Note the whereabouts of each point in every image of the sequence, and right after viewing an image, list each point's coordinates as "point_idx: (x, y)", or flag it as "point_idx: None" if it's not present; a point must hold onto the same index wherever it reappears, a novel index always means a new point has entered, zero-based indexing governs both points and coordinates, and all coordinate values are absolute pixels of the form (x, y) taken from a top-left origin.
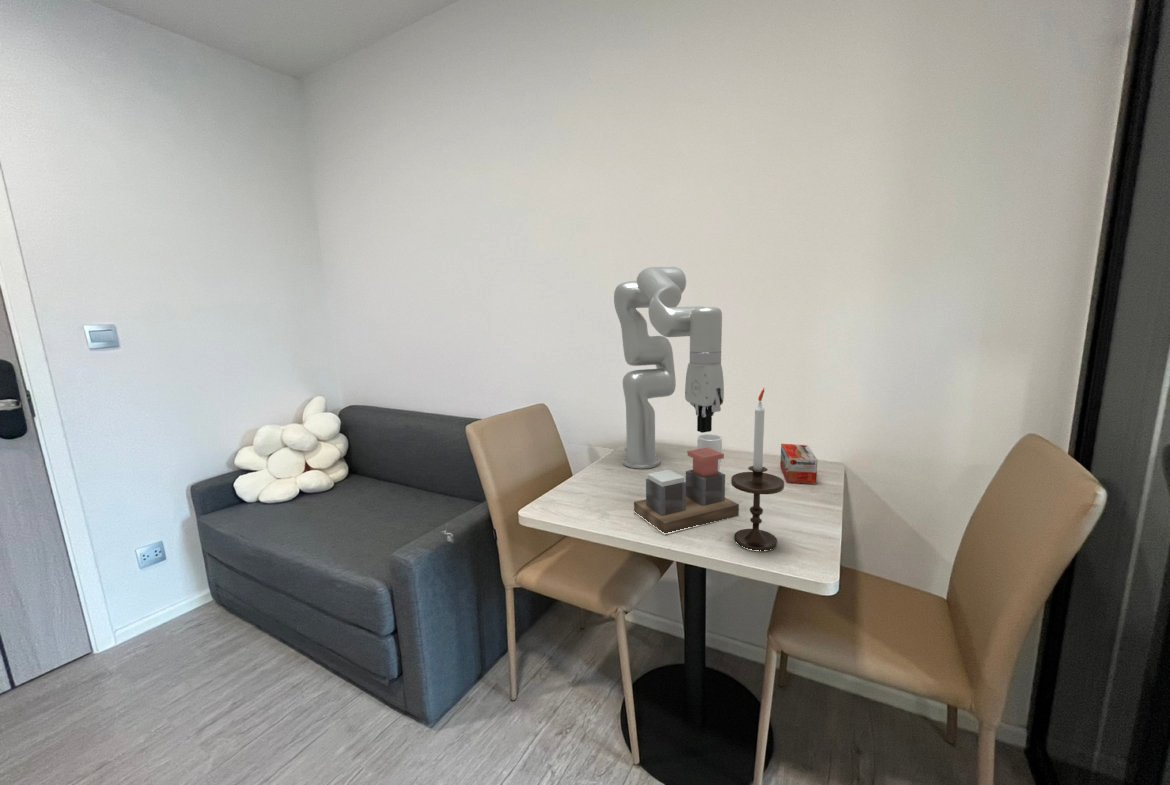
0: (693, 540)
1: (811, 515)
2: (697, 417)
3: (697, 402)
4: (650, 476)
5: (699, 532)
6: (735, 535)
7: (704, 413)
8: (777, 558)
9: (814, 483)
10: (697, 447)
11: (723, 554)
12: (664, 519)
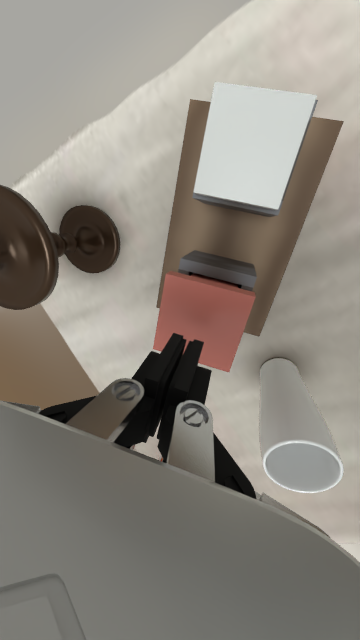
0: (146, 152)
1: (106, 368)
2: (188, 385)
3: (73, 455)
4: (294, 94)
5: (161, 190)
6: (108, 223)
7: (102, 394)
8: (45, 220)
9: (162, 458)
10: (325, 425)
11: (86, 158)
12: (204, 115)
